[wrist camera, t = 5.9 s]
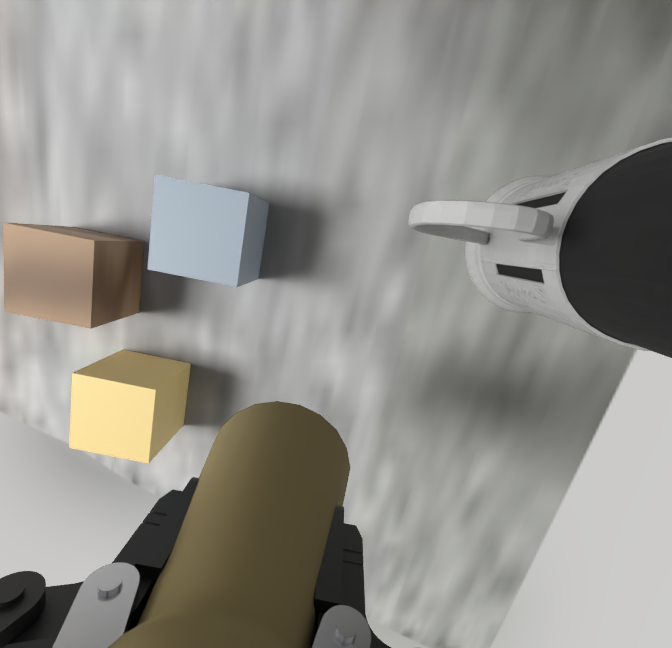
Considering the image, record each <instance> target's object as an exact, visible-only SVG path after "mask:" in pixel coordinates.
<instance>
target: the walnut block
mask: <svg viewBox="0 0 672 648" xmlns="http://www.w3.org/2000/svg"><path fill="white" fill-rule="evenodd" d="M144 243H145V241H140V240H135V239H130V238H125V237H120V236H115V235H110V234H105V233H100V232H95V231H90V230H85V229H80V228H75V227H65V226H49V225H33V224H17V223H4V302H5V312H9V313H14V314H19V315H25V316H30V317H35V318H40V319H45V320H50V321H55V322H60V323H65V324H70V325H76V326H81V327H86V328H94V327H97V326H100V325H103V324H106V323H109V322H112V321H115V320H118V319H121V318H124V317H127V316H130V315H133V314H136V313H139V310H140V297H141V283H142V270H143V256H144Z"/></svg>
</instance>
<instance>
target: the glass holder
mask: <svg viewBox="0 0 672 648" xmlns="http://www.w3.org/2000/svg"><path fill="white" fill-rule="evenodd" d="M409 226H410V227H411V228H412V229H414V230H417V231H420V232H423V233H426V234H430V235H435V236H440V237H446V238H451V239H456V240H462V241H466V246H465V258H466V265H467V269H468V273H469V275H470V278H471V280H472V282H473V284H474V285H475V287H476V288H477V289H478V291H479V292H480V293H481V294H482V295H483V296H484V297H485V298H486V299H487V300H488V301H490V302H491V303H493V304H495V305H496V306H498V307H501V308H503V309H506V310H509V311H514V312H521V313H533V312H534V313H536V314H539V315H542V316H544V317H547V318H550V319H552V320H555V321H558V322H561V323H563V324H566V325H569V326H571V327H574V328H577V329H580V330H582V331H585V332H588V333H590V334H593V335H596V336H598V337H601V338H604V339H607V340H609V341H612V342H615V343H617V344H620V345H623V346H627V347H631V348H635V349H639V350H644V351H654V352H657V353H659V354H662V355H665V356H668V357H671V358H672V138H667V139H662V140H659V141H656V142H653V143H650V144H647V145H644V146H641V147H638V148H635V149H632V150H629V151H626V152H623V153H620V154H617V155H614V156H611V157H608V158H605V159H602V160H599V161H596V162H593V163H590V164H587V165H584V166H582V167H579V168H576V169H573V170H570V171H567V172H564V173H561V174H558V175H555V176H533V177H526V178H522V179H519V180H516V181H513V182H511V183H510V184H508V185H506V186H504V187H502V188H501V189H499V190H498V191H497V192H495V193H494V194H493V195H491V196H490V197H489V198H488V199H487V201H486V202H484V201H471V200H437V201H428V202H424V203H421V204H417V205H415V206H414V207H413V208H412V210H411V212H410V216H409ZM465 226H468V227H465ZM469 227H470V228H469Z"/></svg>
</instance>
